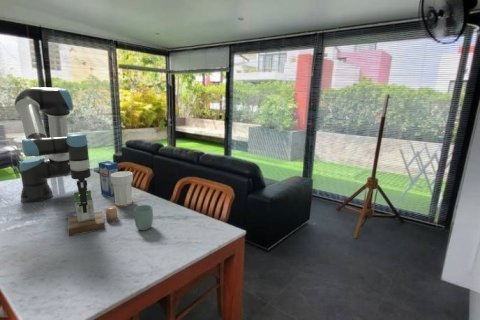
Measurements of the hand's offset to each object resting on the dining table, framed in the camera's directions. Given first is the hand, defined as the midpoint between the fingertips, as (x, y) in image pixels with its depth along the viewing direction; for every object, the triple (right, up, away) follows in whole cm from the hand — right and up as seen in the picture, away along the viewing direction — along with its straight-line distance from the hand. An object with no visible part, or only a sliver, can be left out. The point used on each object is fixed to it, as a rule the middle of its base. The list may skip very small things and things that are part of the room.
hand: (85, 213), depth 125 cm
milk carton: (-8, +3, +42) cm, 43 cm away
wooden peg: (+8, -5, +9) cm, 13 cm away
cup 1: (+6, 0, +29) cm, 29 cm away
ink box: (0, -3, +1) cm, 3 cm away
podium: (0, -6, +1) cm, 6 cm away
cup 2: (+27, -7, 0) cm, 28 cm away
